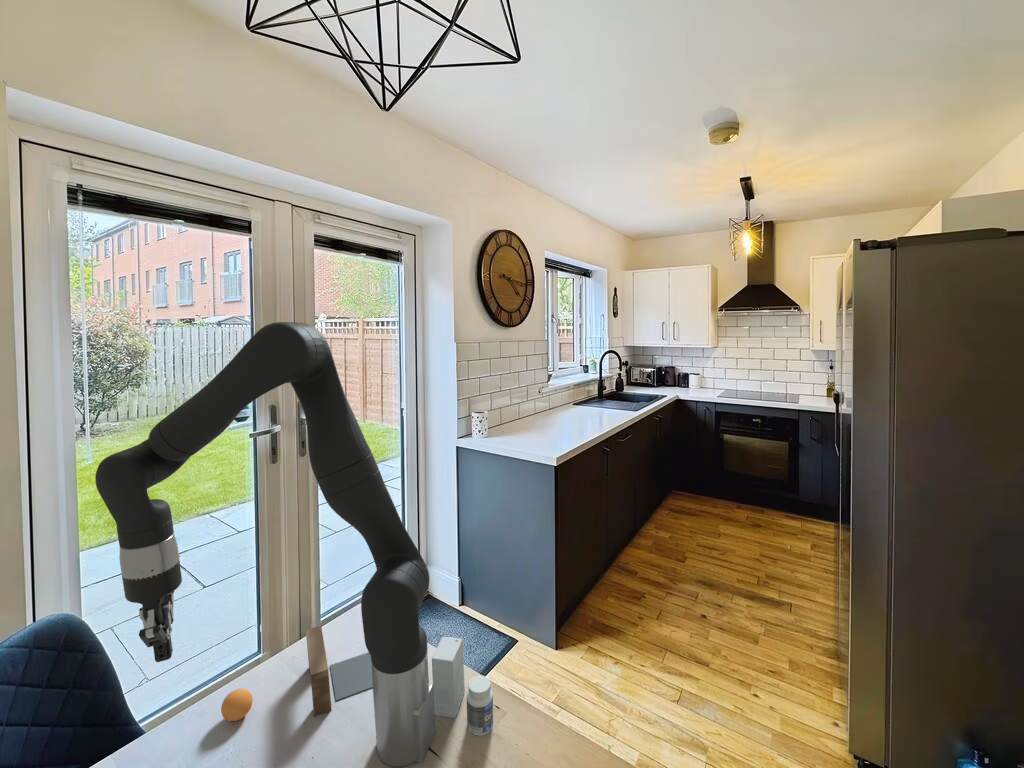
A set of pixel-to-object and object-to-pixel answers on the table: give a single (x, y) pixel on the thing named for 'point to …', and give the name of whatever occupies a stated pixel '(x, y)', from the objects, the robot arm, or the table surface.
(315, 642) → the bridge
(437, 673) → the skincare box
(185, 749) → the table surface
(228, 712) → the ball
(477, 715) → the pill bottle
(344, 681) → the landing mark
